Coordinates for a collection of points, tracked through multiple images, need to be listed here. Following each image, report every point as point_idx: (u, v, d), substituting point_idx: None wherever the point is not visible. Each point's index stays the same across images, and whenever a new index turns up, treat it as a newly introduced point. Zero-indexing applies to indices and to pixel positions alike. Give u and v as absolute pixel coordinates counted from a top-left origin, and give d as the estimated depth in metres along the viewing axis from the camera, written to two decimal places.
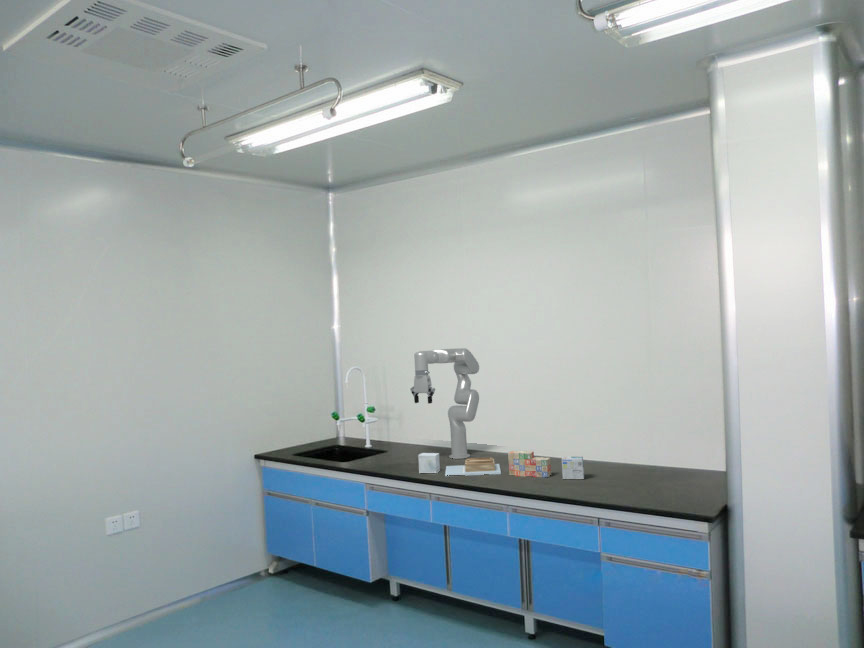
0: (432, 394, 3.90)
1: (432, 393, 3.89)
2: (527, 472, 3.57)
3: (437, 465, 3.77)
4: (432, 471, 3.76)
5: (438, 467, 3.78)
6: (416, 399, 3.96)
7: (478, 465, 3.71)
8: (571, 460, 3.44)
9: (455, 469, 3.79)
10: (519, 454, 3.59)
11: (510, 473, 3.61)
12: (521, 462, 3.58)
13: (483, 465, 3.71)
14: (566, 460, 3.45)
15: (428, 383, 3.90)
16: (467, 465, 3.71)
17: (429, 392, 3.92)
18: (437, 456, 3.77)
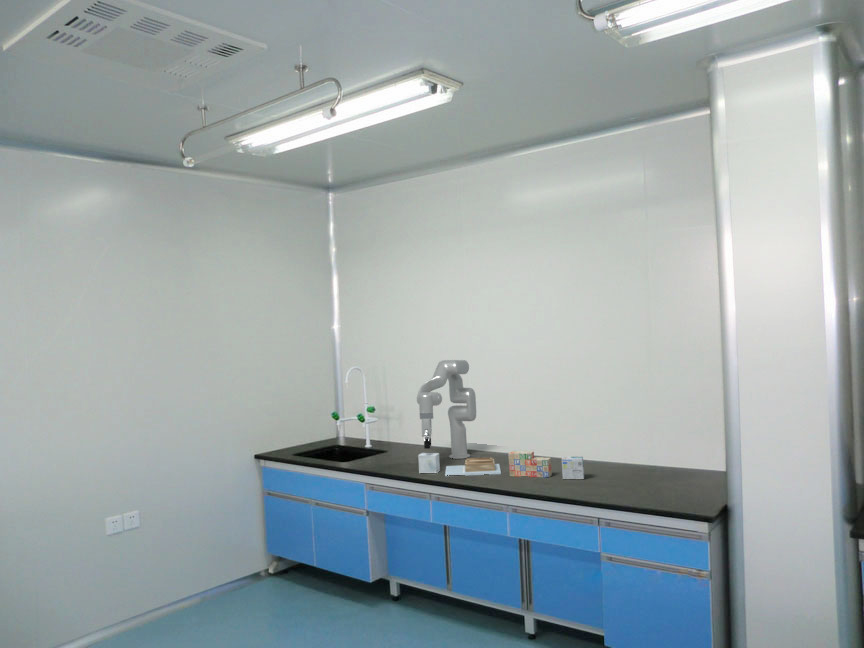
0: None
1: None
2: (528, 472, 3.56)
3: (437, 465, 3.77)
4: (432, 471, 3.76)
5: (438, 467, 3.78)
6: None
7: (478, 465, 3.71)
8: (571, 460, 3.44)
9: (455, 469, 3.79)
10: (520, 454, 3.58)
11: (510, 473, 3.60)
12: (522, 463, 3.58)
13: (483, 465, 3.71)
14: (566, 460, 3.45)
15: None
16: (467, 465, 3.71)
17: None
18: (437, 456, 3.77)
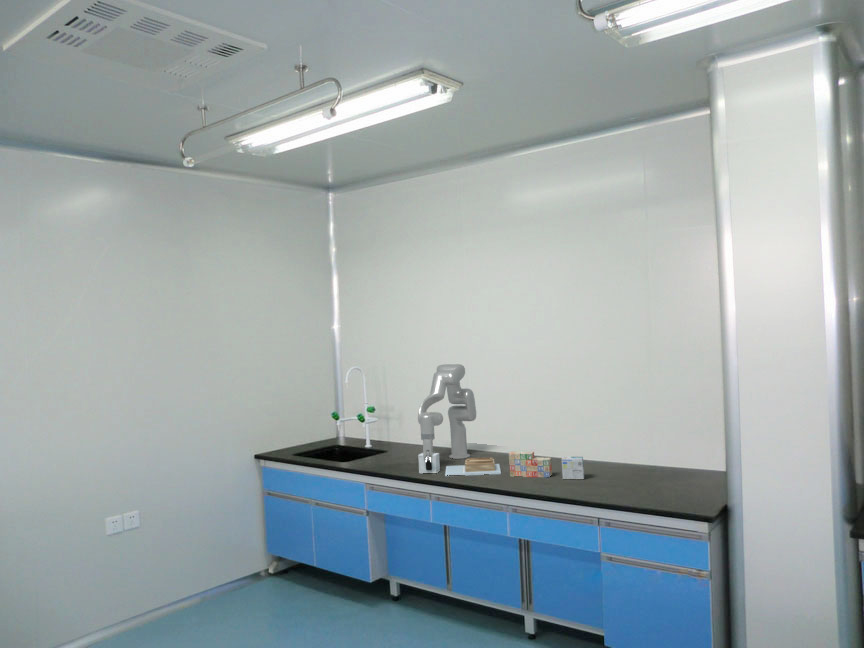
0: None
1: None
2: (529, 473, 3.56)
3: (437, 465, 3.77)
4: (432, 471, 3.76)
5: (438, 467, 3.78)
6: None
7: (478, 465, 3.71)
8: (571, 460, 3.44)
9: (455, 469, 3.79)
10: (520, 454, 3.57)
11: (511, 474, 3.59)
12: (522, 463, 3.57)
13: (483, 465, 3.71)
14: (566, 460, 3.45)
15: None
16: (467, 465, 3.71)
17: None
18: (437, 456, 3.77)
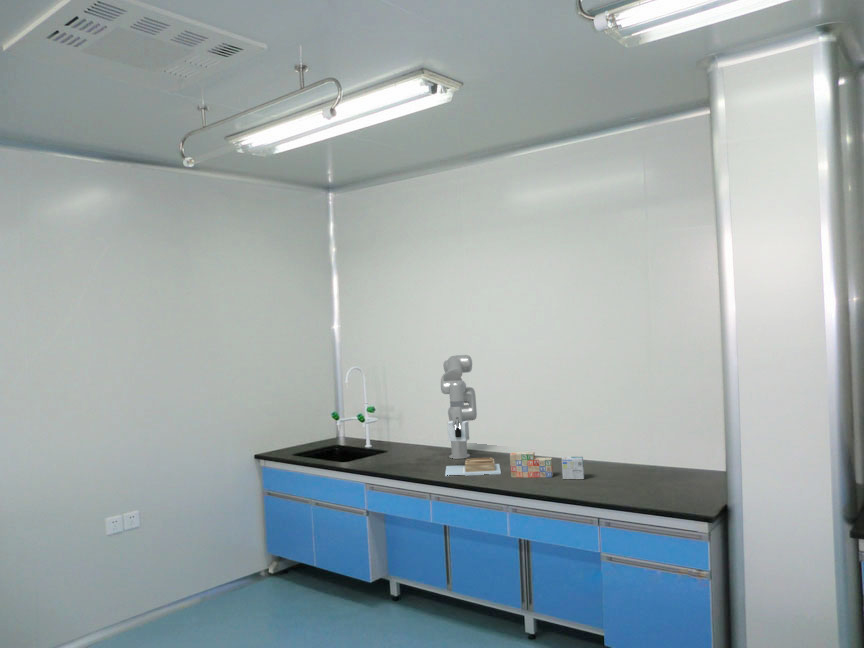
0: None
1: None
2: (530, 473, 3.55)
3: (466, 433, 3.76)
4: (461, 438, 3.75)
5: (467, 434, 3.77)
6: None
7: (478, 465, 3.71)
8: (571, 460, 3.44)
9: (455, 469, 3.79)
10: (522, 455, 3.56)
11: (512, 475, 3.57)
12: (524, 463, 3.55)
13: (483, 465, 3.71)
14: (566, 460, 3.45)
15: None
16: (467, 465, 3.71)
17: None
18: (466, 423, 3.77)
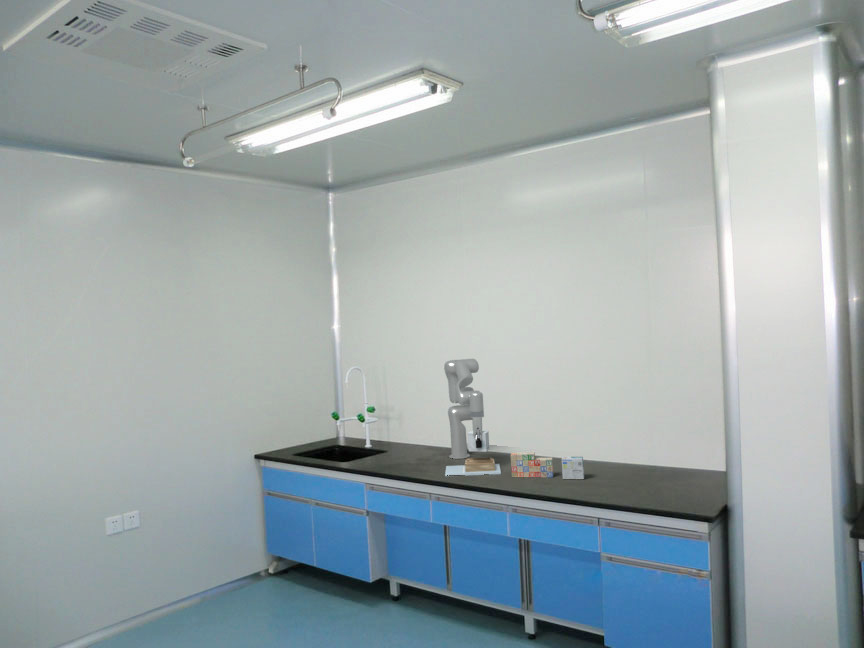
0: None
1: None
2: (531, 473, 3.54)
3: (487, 443, 3.75)
4: (482, 449, 3.74)
5: (488, 445, 3.77)
6: None
7: (478, 465, 3.71)
8: (571, 460, 3.44)
9: (455, 469, 3.79)
10: (522, 455, 3.55)
11: (513, 475, 3.56)
12: (525, 464, 3.55)
13: (483, 465, 3.71)
14: (566, 460, 3.45)
15: None
16: (467, 465, 3.71)
17: None
18: (487, 434, 3.76)
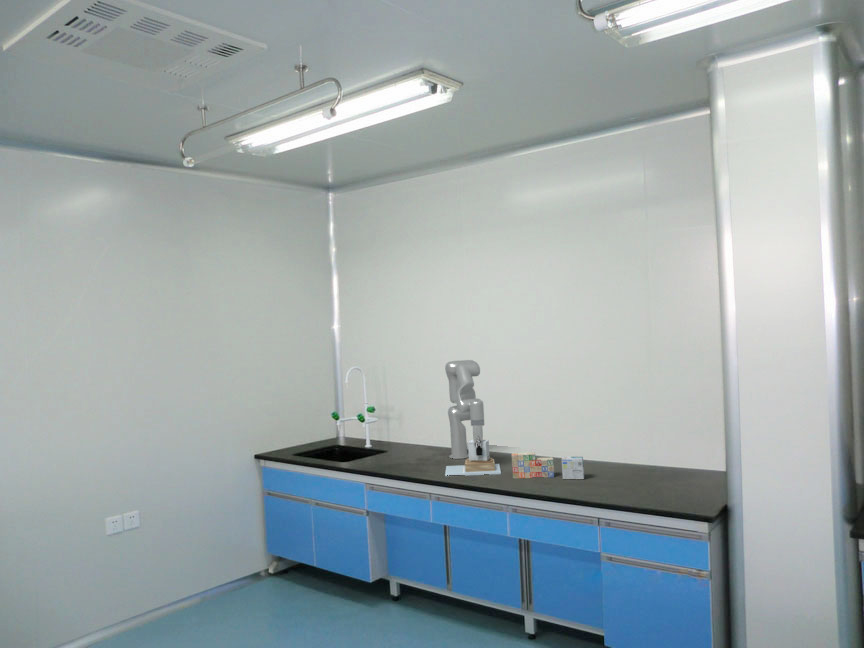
0: None
1: None
2: (532, 473, 3.54)
3: (487, 452, 3.75)
4: (482, 458, 3.74)
5: (488, 453, 3.77)
6: None
7: (478, 465, 3.71)
8: (571, 460, 3.44)
9: (455, 469, 3.79)
10: (524, 456, 3.54)
11: (514, 476, 3.55)
12: (526, 464, 3.54)
13: (483, 465, 3.71)
14: (566, 460, 3.45)
15: None
16: (467, 465, 3.71)
17: None
18: (487, 443, 3.76)
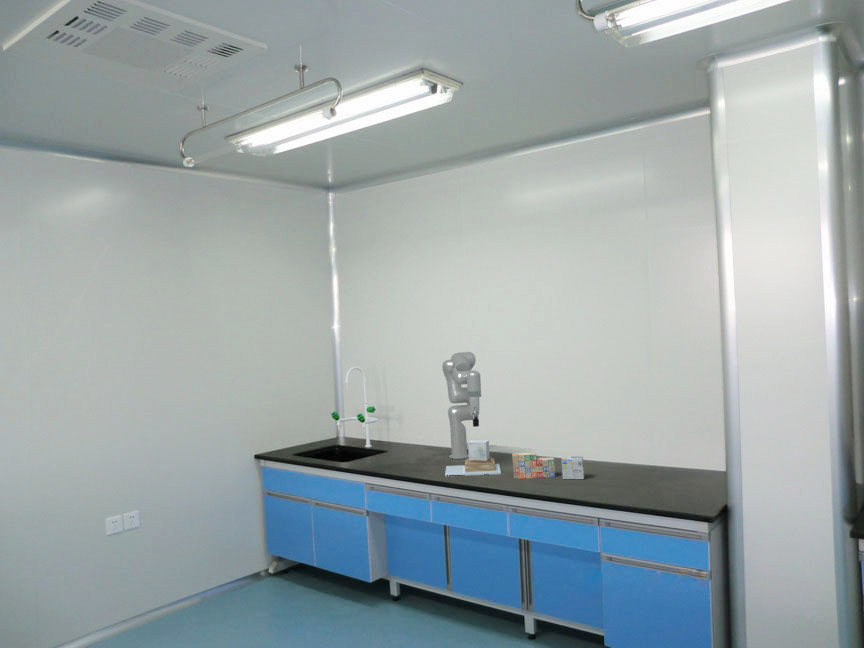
0: None
1: None
2: (533, 473, 3.53)
3: (487, 452, 3.75)
4: (482, 458, 3.74)
5: (488, 453, 3.77)
6: None
7: (478, 465, 3.71)
8: (571, 460, 3.44)
9: (455, 469, 3.79)
10: (525, 456, 3.53)
11: (515, 476, 3.54)
12: (527, 464, 3.53)
13: (483, 465, 3.71)
14: (566, 460, 3.45)
15: None
16: (467, 465, 3.71)
17: None
18: (487, 443, 3.76)
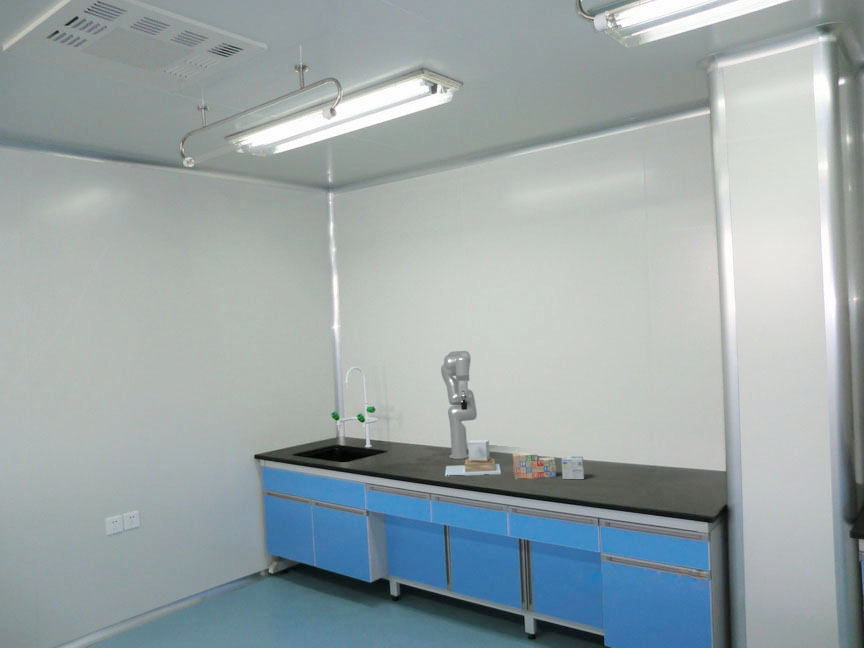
0: None
1: None
2: (534, 474, 3.53)
3: (487, 452, 3.75)
4: (482, 458, 3.74)
5: (488, 453, 3.77)
6: None
7: (478, 465, 3.71)
8: (571, 460, 3.44)
9: (455, 469, 3.79)
10: (526, 456, 3.53)
11: (516, 476, 3.53)
12: (528, 464, 3.53)
13: (483, 465, 3.71)
14: (566, 460, 3.45)
15: None
16: (467, 465, 3.71)
17: None
18: (487, 443, 3.76)
